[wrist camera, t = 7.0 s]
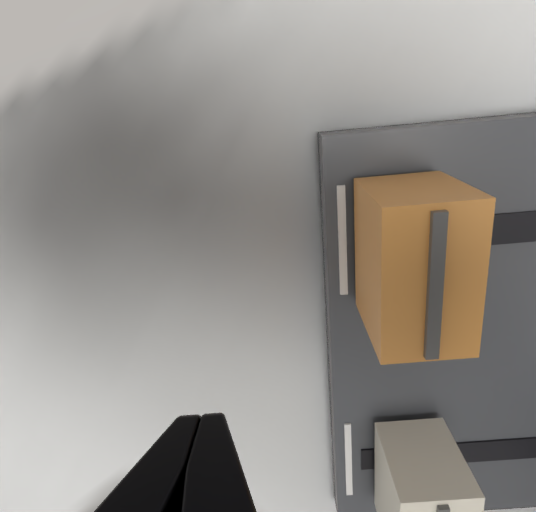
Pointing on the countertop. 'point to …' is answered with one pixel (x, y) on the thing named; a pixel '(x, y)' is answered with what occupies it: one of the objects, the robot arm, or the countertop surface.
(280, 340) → the countertop surface
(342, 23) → the countertop surface
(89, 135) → the countertop surface
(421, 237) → the orange fader
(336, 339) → the console
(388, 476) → the block
